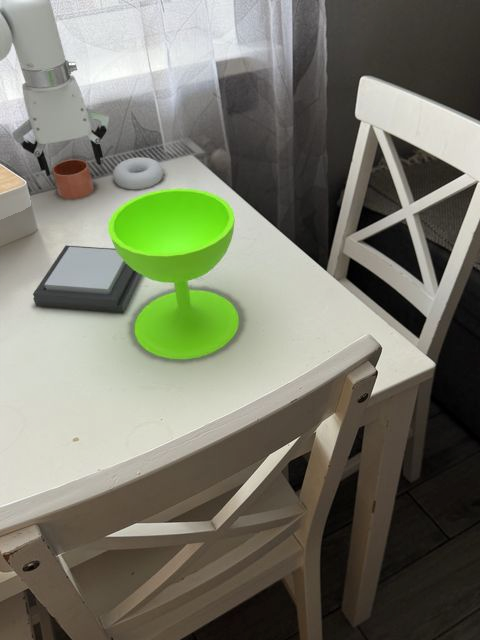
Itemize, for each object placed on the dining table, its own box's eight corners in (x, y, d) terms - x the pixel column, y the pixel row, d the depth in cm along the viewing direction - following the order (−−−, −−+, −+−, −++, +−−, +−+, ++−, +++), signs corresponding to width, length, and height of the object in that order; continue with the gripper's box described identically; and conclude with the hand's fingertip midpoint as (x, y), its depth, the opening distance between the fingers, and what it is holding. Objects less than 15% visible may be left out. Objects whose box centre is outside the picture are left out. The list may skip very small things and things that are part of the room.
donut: (126, 168, 125) (106, 190, 118) (123, 152, 122) (102, 174, 115) (171, 172, 123) (153, 195, 116) (169, 156, 121) (151, 179, 113)
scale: (35, 311, 91) (29, 293, 89) (67, 262, 100) (62, 245, 98) (123, 318, 90) (119, 300, 87) (147, 267, 99) (144, 250, 96)
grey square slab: (47, 292, 90) (44, 284, 89) (71, 254, 97) (69, 246, 96) (110, 297, 89) (108, 289, 88) (130, 258, 96) (128, 250, 95)
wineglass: (172, 281, 96) (155, 179, 83) (260, 309, 90) (256, 204, 78) (110, 342, 86) (81, 236, 73) (205, 378, 80) (190, 270, 68)
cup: (54, 201, 115) (46, 175, 111) (67, 184, 120) (60, 158, 116) (87, 203, 114) (80, 176, 111) (99, 185, 119) (93, 159, 115)
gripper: (92, 58, 106) (114, 149, 118) (-8, 76, 102) (25, 168, 114) (100, 72, 101) (122, 165, 113) (-5, 91, 97) (29, 186, 109)
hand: (73, 167), depth 114 cm, fingers open, 9 cm apart
